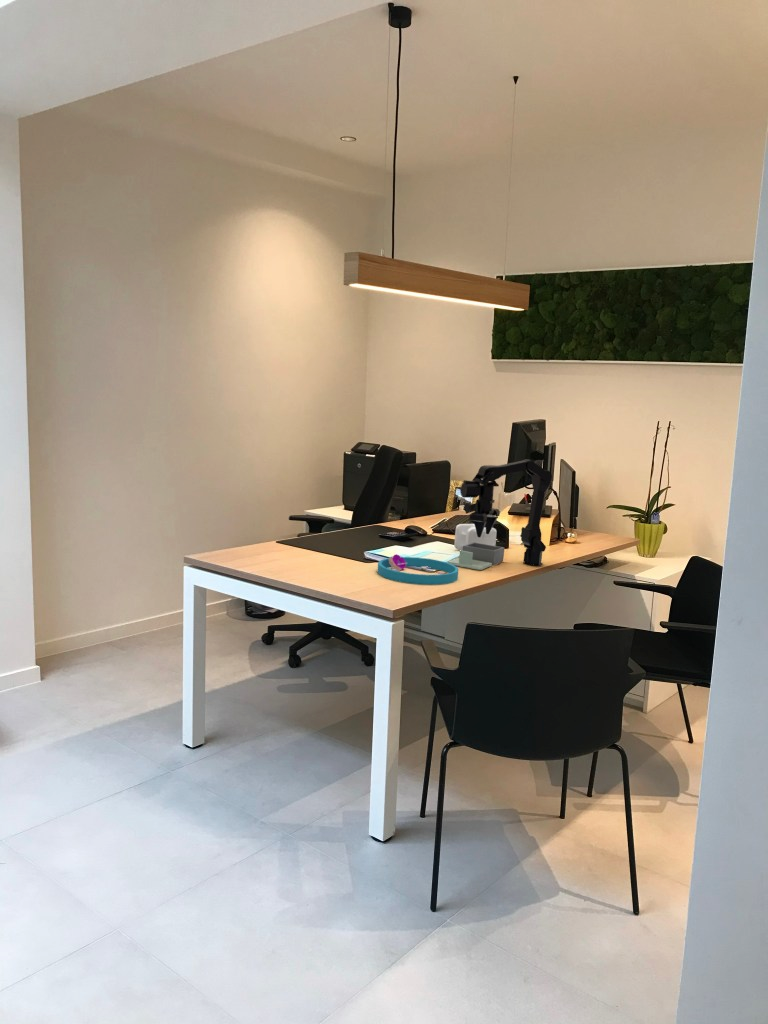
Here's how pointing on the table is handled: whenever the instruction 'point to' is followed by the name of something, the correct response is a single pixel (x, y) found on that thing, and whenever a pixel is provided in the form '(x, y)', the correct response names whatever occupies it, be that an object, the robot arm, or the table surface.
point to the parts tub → (485, 552)
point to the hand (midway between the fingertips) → (483, 535)
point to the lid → (469, 561)
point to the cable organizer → (473, 536)
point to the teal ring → (401, 562)
